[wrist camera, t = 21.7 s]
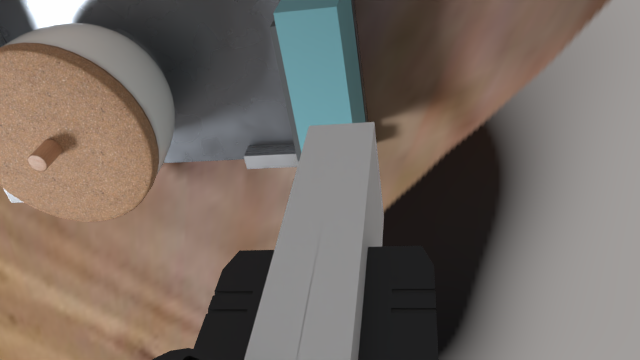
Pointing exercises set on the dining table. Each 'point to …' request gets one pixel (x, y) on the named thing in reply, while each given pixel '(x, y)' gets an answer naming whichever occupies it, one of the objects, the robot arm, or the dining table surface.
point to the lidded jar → (81, 121)
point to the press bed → (195, 69)
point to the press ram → (317, 64)
